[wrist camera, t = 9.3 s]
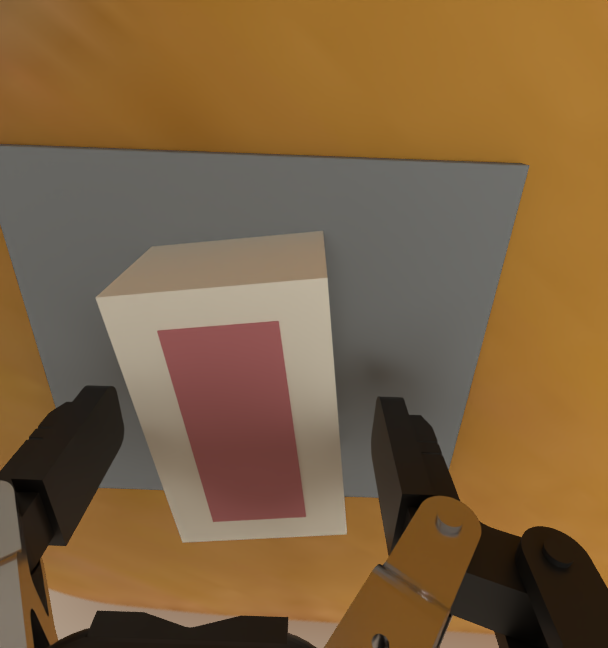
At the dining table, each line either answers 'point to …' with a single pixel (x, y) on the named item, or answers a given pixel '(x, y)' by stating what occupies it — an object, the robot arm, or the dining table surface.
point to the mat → (266, 220)
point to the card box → (234, 383)
